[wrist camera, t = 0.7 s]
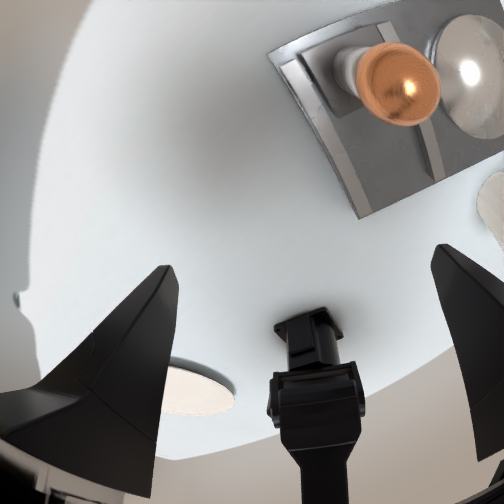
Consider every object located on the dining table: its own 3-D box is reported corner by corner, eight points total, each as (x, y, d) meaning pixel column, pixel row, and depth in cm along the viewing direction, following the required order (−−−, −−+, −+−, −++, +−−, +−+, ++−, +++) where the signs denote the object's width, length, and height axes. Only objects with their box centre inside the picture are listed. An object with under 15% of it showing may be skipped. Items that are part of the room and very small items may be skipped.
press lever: (394, 84, 15) (479, 124, 8) (331, 112, 17) (385, 168, 10) (364, 25, 13) (446, 20, 6) (297, 53, 14) (333, 58, 7)
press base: (522, 129, 16) (540, 140, 14) (353, 209, 23) (362, 228, 21) (481, -15, 9) (502, -15, 7) (266, 54, 16) (267, 54, 14)
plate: (248, 404, 50) (248, 414, 48) (151, 404, 53) (149, 413, 51) (210, 347, 37) (208, 362, 35) (90, 351, 40) (86, 363, 39)
